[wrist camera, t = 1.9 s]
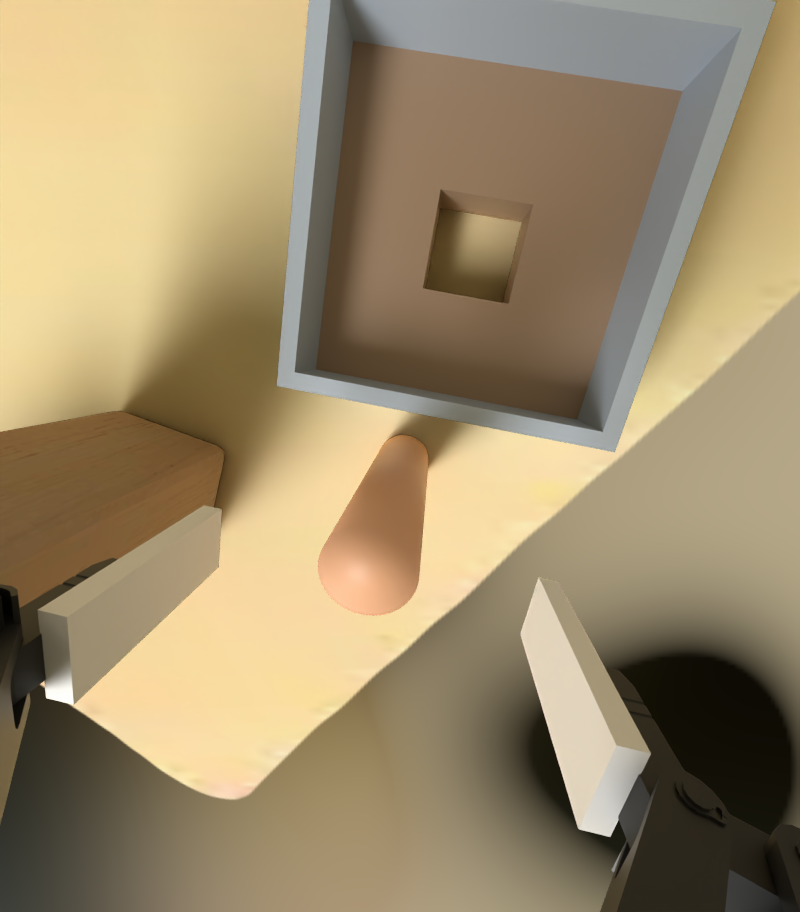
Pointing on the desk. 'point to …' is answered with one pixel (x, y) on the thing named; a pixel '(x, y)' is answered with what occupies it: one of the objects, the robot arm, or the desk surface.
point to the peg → (380, 533)
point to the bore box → (503, 198)
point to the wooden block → (93, 493)
